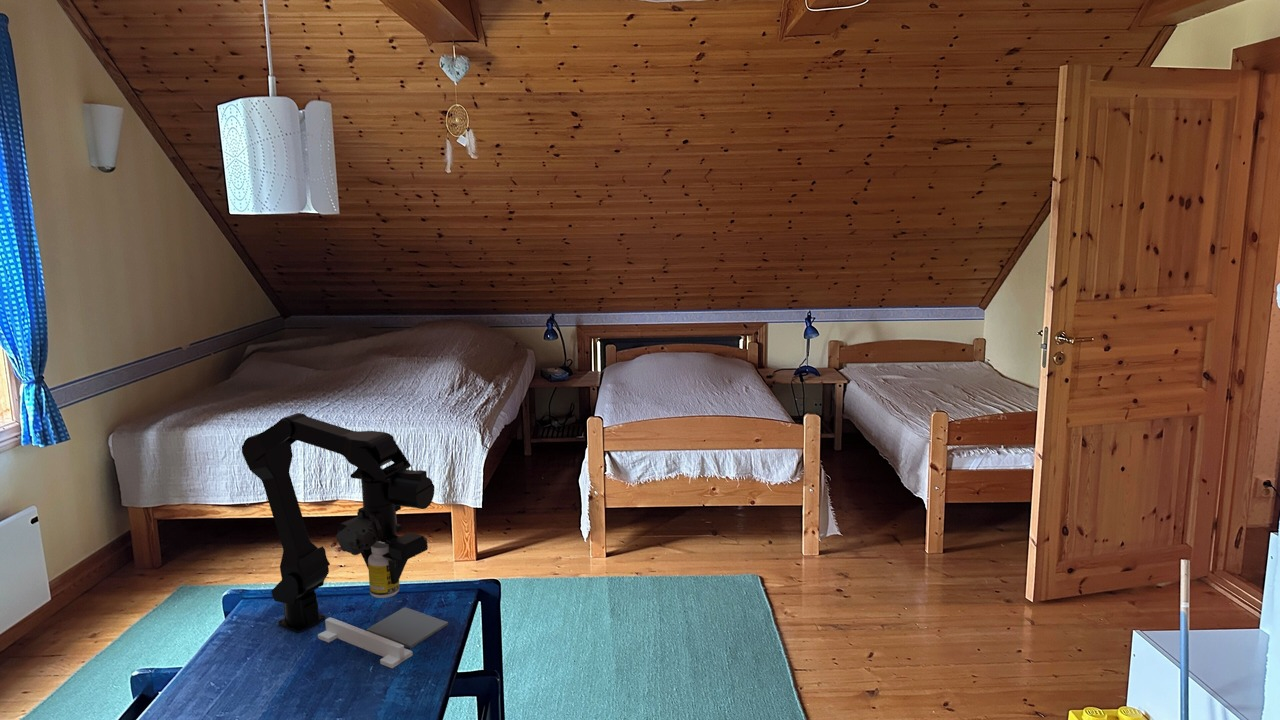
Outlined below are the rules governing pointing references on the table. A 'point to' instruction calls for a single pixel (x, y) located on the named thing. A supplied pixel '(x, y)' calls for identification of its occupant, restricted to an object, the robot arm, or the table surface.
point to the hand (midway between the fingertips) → (384, 579)
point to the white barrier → (366, 642)
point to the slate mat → (407, 627)
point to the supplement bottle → (380, 573)
